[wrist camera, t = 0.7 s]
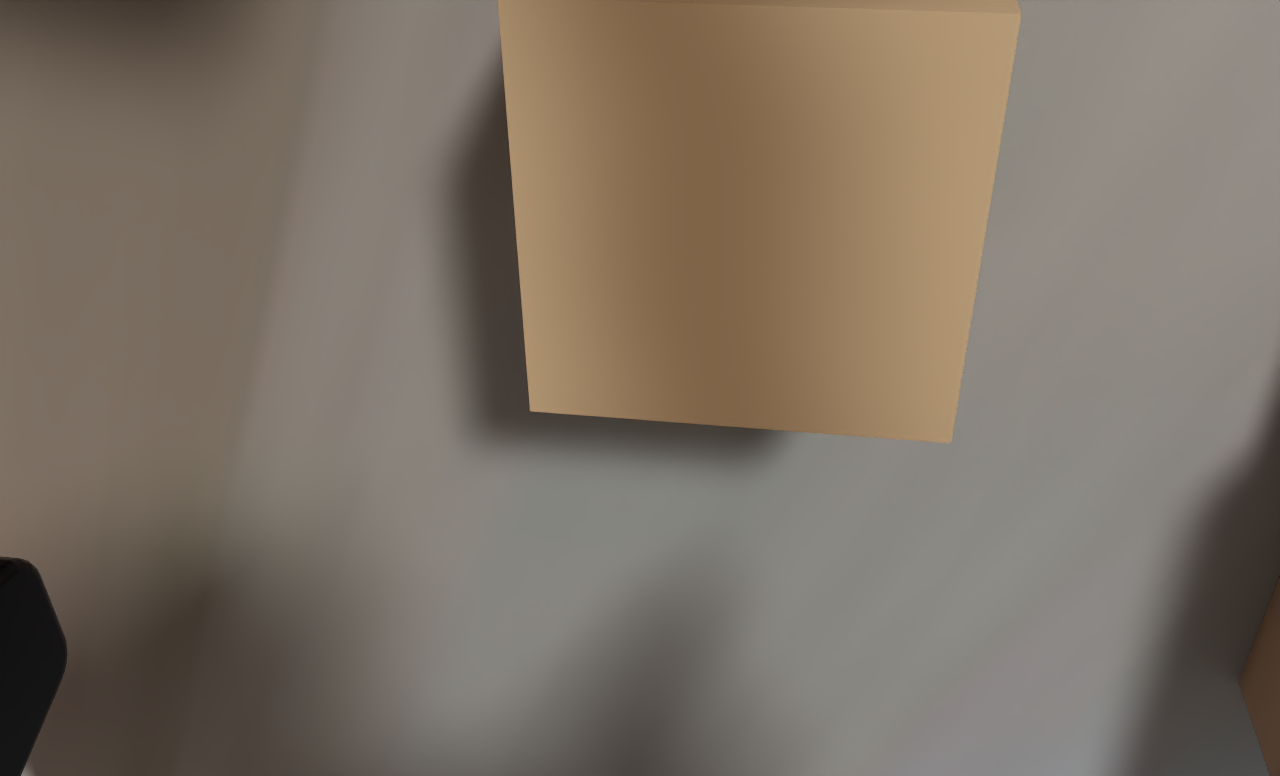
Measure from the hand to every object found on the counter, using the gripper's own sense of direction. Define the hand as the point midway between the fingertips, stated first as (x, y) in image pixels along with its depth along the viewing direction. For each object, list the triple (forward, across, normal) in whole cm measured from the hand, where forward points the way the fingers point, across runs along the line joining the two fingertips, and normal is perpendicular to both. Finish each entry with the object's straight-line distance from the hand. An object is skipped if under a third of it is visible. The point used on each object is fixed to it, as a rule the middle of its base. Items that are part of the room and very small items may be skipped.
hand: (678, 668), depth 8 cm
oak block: (+11, 0, 0) cm, 11 cm away
